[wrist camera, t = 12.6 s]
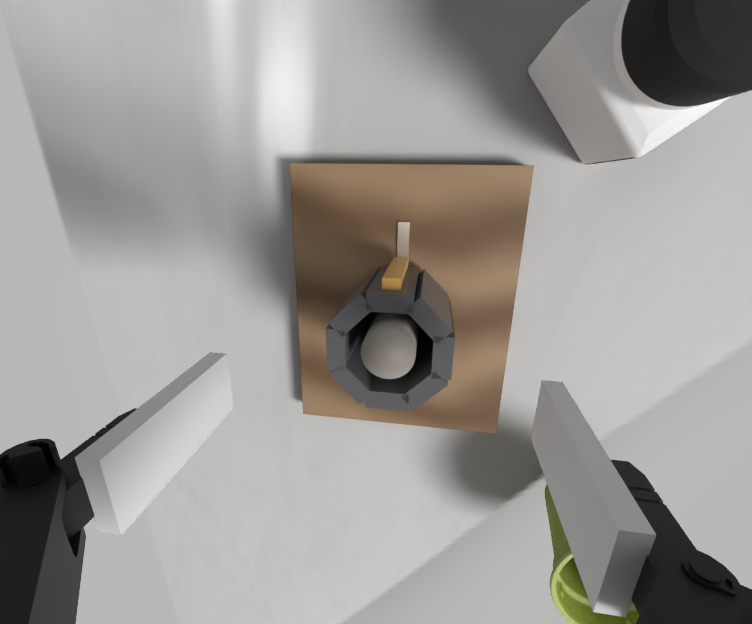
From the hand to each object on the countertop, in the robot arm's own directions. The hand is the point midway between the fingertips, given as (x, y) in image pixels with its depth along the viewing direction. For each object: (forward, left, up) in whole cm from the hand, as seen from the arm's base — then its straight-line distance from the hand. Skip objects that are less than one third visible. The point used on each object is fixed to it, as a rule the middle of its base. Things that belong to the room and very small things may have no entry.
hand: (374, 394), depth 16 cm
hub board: (0, 0, -14) cm, 14 cm away
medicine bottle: (-15, +12, -15) cm, 24 cm away
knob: (0, 0, -12) cm, 12 cm away
